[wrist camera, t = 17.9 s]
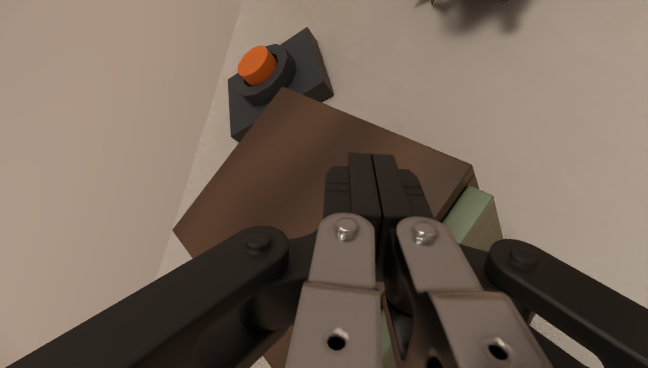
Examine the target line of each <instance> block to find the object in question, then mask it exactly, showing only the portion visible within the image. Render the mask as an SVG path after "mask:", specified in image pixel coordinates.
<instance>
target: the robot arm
mask: <svg viewBox="0 0 648 368" xmlns="http://www.w3.org/2000/svg"><path fill="white" fill-rule="evenodd" d="M421 187H422V186H421V184H420V181H419V179H418V177H417V176H416V175H415V174H413V173H412V172H411V171H410V170H409V169H398V167H397V163H396V160H395V157H394V155H393V154H378V153H371V154H370V153H356V152H349V153H348V161H347V166H332V167H331V168H330V169H329V170H328V171H327V172H326V177H325V191H324V206H323V219H322V221H321V223H320V225H319V228H318V229H317V230H315V231H314V232H313V233H311V234H309V235H306V236H303V237H299V238H293V239H288V237H287V236H286V234H285V233H284V232H282V231H281V230H279V229H277V228H275V227H271V226H253V227H249V228H246V229H244V230H242V231H240V232H238V233H236V234H235V235H233V236H231V237H229V238H228V239H226V240H224V241H223V242H221V243H219V244H217V245H216V246H214V247H212V248H210V249H209V250H207V251H205V252H204V253H202V254H200V255H198V256H197V257H195V258H193V259H192V260H190V261H188V262H186V263H185V264H183V265H181V266H179V267H178V268H176V269H174V270H173V271H171V272H169V273H167V274H166V275H164V276H162V277H161V278H159V279H157V280H155V281H154V282H152V283H150V284H149V285H147V286H145V287H143V288H142V289H140V290H139V291H137V292H135V293H133V294H131V295H130V296H128V297H126V298H125V299H123V300H121V301H119V302H118V303H116V304H114V305H112V306H111V307H109V308H107V309H106V310H104V311H102V312H100V313H99V314H97V315H95V316H93V317H92V318H90V319H88V320H87V321H85V322H83V323H81V324H80V325H78V326H76V327H75V328H73V329H71V330H70V331H68V332H66V333H64V334H63V335H61V336H59V337H57V338H56V339H54V340H52V341H51V342H49V343H47V344H45V345H44V346H42V347H40V348H38V349H37V350H35V351H33V352H32V353H30V354H28V355H26V356H25V357H23V358H21V359H19V360H18V361H16V362H14V363H13V364H11V365H9V366H7V367H6V368H250V367H251V366H252V365H253V364H254V363H255V362H256V361H257V360H258V359H259V358H260V357H261V356H263V355H264V354H265V353H266V352H267V351H268V350H269V349H270V348H271V347H272V346H273V345H274V344H275V343H276V342H278V341H279V340H280V339H281V338H282V337H283V336H284V335H285V334H286V332H287V331H288V329H289V327H290V326H291V325H294V328H293V332H292V337H291V342H290V346H289V351H288V356H287V360H286V365H285V368H383V361H382V333H381V305H380V291H379V289H376V282H384V286H385V293H384V298H383V309H384V314H385V318H386V323H387V327H388V332H389V336H390V341H391V345H392V350H393V354H394V359H395V363H396V368H589V367H587V366H585V365H583V364H582V363H580V362H579V361H577V360H576V359H575V358H573V357H572V356H571V355H569V354H568V353H566V352H565V351H564V350H562V349H561V348H560V347H558V346H557V345H555V344H554V343H553V342H551V341H550V340H549V339H547V338H546V337H544V336H543V335H542V334H540V333H539V332H537V331H536V330H535V329H533V328H532V327H531V326H529V325H530V323H531V321H532V319H533V317H534V316H535V314H537V315H539V316H540V317H542V318H543V319H545V320H546V321H548V322H549V323H550V324H552V325H553V326H555V327H556V328H558V329H559V330H561V331H562V332H563V333H565V334H566V335H568V336H569V337H571V338H572V339H574V340H575V341H576V342H578V343H579V344H581V345H582V346H584V347H585V348H587V349H588V350H589V351H591V352H592V353H593V354H595V355H596V356H597V357H598V358H599V360H600V361H601V362H602V364H603V366H604V368H648V309H647V308H645V307H643V306H641V305H639V304H638V303H636V302H634V301H632V300H630V299H629V298H627V297H625V296H623V295H621V294H620V293H618V292H616V291H614V290H613V289H611V288H609V287H607V286H605V285H604V284H602V283H600V282H598V281H596V280H595V279H593V278H591V277H589V276H587V275H586V274H584V273H582V272H580V271H578V270H577V269H575V268H573V267H571V266H570V265H568V264H566V263H564V262H562V261H561V260H559V259H557V258H555V257H553V256H552V255H550V254H548V253H546V252H544V251H543V250H541V249H539V248H537V247H535V246H533V245H531V244H529V243H526V242H523V241H519V240H514V239H502V240H498V241H496V242H494V243H493V244H492V245H491V247H490V250H489V252H487V251H484V250H480V249H476V248H472V247H469V246H465V245H462V244H460V243H457V241H456V239H455V237H454V236H453V234H452V232H451V231H450V230H449V229H448V228H447V227H446V226H445V225H444V224H442V223H440V222H438V221H436V220H435V219H434V217H433V214H432V212H431V209H430V207H429V204H428V201H427V199H426V196H424V195H425V194H424V191H423V189H422V188H421Z"/></svg>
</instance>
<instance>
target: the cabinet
mask: <svg viewBox="0 0 648 368" xmlns="http://www.w3.org/2000/svg"><path fill="white" fill-rule="evenodd" d="M349 152H356V153H370V154H371V153H378V154H393V155H394V157H395V160H396V163H397V167H398V169H409V170H410V171H411V172H412V173H413V174H415V175H416V176H417V177H418V179H419V181H420V184H421V186H422V187H421V188H422V189H423V191H424V194H425V195H424V196H426V199H427V201H428V204H429V207H430V209H431V212H432V214H433V217H434V219H435V220H436V221H438V222H441V220H442V219H443V217H444V216H445V214H446V213H447V211H449V212H450V210H451V209H452V208H453V206H454V205H455V203H456V202H457V200H458V199H459V197H460V196H461V195H462V193H463V192H464V190H465V189H466V187H467V186H468V185H470V186H472V187H474V188H477V189H479V187H478V183H477V180H476V177H475V174H474V170H473V166H472V165H471V164H468V163H466V162H464V161H461V160H459V159H456V158H454V157H452V156H449V155H447V154H444V153H442V152H439V151H437V150H435V149H432V148H430V147H427V146H425V145H422V144H420V143H418V142H415V141H413V140H410V139H408V138H406V137H403V136H401V135H398V134H396V133H393V132H391V131H389V130H386V129H384V128H381V127H379V126H376V125H374V124H372V123H369V122H367V121H364V120H362V119H360V118H357V117H355V116H352V115H350V114H347V113H345V112H343V111H340V110H338V109H335V108H333V107H331V106H328V105H326V104H323V103H321V102H318V101H316V100H314V99H311V98H309V97H306V96H304V95H301V94H299V93H297V92H294V91H292V90H289V89H287V88H285V87H282V88H281V89H280V90H279V92H278V93H277V94H276V95H275V97H274V98H273V99H272V101H271V102H270V103H269V105H268V106H267V107H266V108H265V110H264V111H263V112H262V114H261V115H260V116H259V118H258V119H257V120H256V122H255V123H254V124H253V125H252V127H251V128H250V129H249V131H248V132H247V133H246V135H245V136H244V137H243V138H242V140H241V141H240V142H239V144H238V145H237V146H236V148H235V149H234V150H233V152H232V153H231V154H230V155H229V157H228V158H227V159H226V161H225V162H224V163H223V165H222V166H221V167H220V168H219V170H218V171H217V172H216V174H215V175H214V176H213V178H212V179H211V180H210V182H209V183H208V184H207V185H206V187H205V188H204V189H203V191H202V192H201V193H200V195H199V196H198V197H197V198H196V200H195V201H194V202H193V204H192V205H191V206H190V208H189V209H188V210H187V212H186V213H185V214H184V215H183V217H182V218H181V219H180V221H179V222H178V223H177V225H176V226H175V227H174V228H173V232H174V233H175V235H176V236H177V237H178V239H179V240H180V242H181V243H182V244H183V246H184V247H185V248H186V250H187V251H188V253H189V254H190V255H191V257H192V258H195V257H197V256H198V255H200V254H202V253H204V252H205V251H207V250H209V249H210V248H212V247H214V246H216V245H217V244H219V243H221V242H223V241H224V240H226V239H228V238H229V237H231V236H233V235H235V234H236V233H238V232H240V231H242V230H244V229H246V228H249V227H253V226H271V227H275V228H277V229H279V230H281V231H282V232H284V233H285V234H286V236H287V237H288V239H293V238H299V237H303V236H306V235H309V234H311V233H313V232H314V231H315V230H317V229H318V228H319V225H320V223H321V221H322V219H323V206H324V191H325V177H326V172H327V171H328V170H329V169H330V168H331V167H332V166H347V161H348V153H349ZM376 289H379V291H380V305H381V306H382V305H383V298H384V293H385V286H384V282H376ZM293 328H294V325H291V326H290V327H289V329H288V331H287V332H286V334H285V335H284V336H283V337H282V338H281V339H280V340H279V341H278V342H276V343H275V344H274V345H273V346H272V347H271V348H270V349H269V350H268V351H267V352H266V353H265V354H264V355H263V356H264V358H265V359H266V361H267V362H268V363H269V365H270V366H271V367H272V368H285V365H286V360H287V356H288V351H289V346H290V342H291V337H292V332H293Z"/></svg>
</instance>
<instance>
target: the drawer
mask: <svg viewBox="0 0 648 368" xmlns="http://www.w3.org/2000/svg"><path fill="white" fill-rule="evenodd" d="M440 223H442V224H444V225H445V226H446V227H447V228H448V229H449V230H450V231H451V232H452V234H453V236H454V237H455V239H456V241H457V243H460V244H462V245H465V246H469V247H472V248H476V249H480V250H484V251H487V252H489V250H490V247H491V245H492V244H493V243H494V242H496V241H498V240H502V239H503V236H502V232H501V228H500V223H499V219H498V215H497V211H496V206H495V202H494V198H493V196H492V195H490V194H488V193H485V192H483V191H481V190H479V189H477V188H474V187H472V186H470V185H468V186H467V187H466V189H465V190H464V192H463V193H462V195H461V196H460V197H459V199H458V200H457V202H456V203H455V205H454V206H453V208H452V209H451V210H450V212H449V211H447V213H446V214H445V216H444V217H443V219H442V220H441V222H440ZM381 333H382V361H383V368H396V363H395V359H394V354H393V350H392V345H391V341H390V336H389V332H388V327H387V323H386V318H385V314H384V309H383V305H382V306H381Z"/></svg>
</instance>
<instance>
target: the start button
mask: <svg viewBox="0 0 648 368" xmlns="http://www.w3.org/2000/svg"><path fill="white" fill-rule="evenodd" d="M276 65H277V61H276V59H275V58H274V57H273V55H272V54H271V53H270V52H269V51H268V49H267V48H266V47H264V46H258V47H255V48H253V49H252V50H250V51H249V52H248V53H246V54H245V56H244V57H243V58H242V59H241V61H240V63H239V65H238V73H239V75H240V76H241V77H242V78H243V79H244V80H245V81H246V82H247V83H248V84H249V85H251V86H258V85H259V84H261V83H262V82H264V81H266V80H267V79H268V78H269V77H270V75H271V74H272V73H273V72H274V70H275V68H276Z"/></svg>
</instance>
